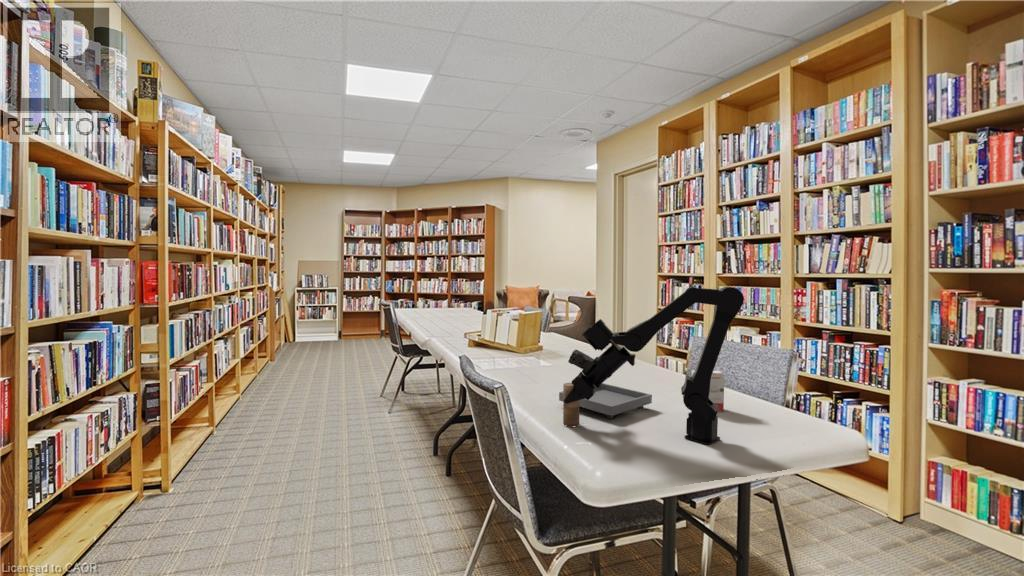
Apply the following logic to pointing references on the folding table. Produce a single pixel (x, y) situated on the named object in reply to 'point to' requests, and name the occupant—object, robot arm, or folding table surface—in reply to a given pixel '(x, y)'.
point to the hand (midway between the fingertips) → (566, 400)
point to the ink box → (716, 389)
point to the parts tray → (614, 400)
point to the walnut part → (570, 408)
